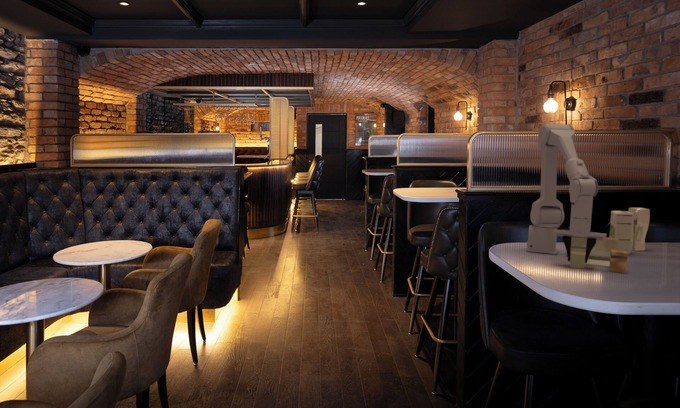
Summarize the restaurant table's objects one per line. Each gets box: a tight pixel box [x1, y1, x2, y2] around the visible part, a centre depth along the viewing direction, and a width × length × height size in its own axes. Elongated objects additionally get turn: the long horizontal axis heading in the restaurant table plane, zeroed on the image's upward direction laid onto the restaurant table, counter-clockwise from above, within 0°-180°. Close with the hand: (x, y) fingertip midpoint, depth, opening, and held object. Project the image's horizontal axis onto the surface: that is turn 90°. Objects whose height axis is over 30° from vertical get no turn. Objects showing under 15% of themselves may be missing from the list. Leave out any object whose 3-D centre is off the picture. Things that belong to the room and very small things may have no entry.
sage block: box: [569, 246, 586, 270], centre depth 155 cm, size 4×4×6 cm
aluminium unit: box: [565, 235, 619, 261], centre depth 167 cm, size 16×5×7 cm, turn 66°
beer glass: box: [628, 207, 651, 252], centre depth 182 cm, size 7×7×15 cm
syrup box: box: [608, 210, 633, 255], centre depth 177 cm, size 6×6×14 cm
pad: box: [585, 259, 610, 268], centre depth 159 cm, size 10×7×1 cm
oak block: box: [608, 250, 629, 274], centre depth 150 cm, size 4×4×6 cm
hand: (577, 261), depth 155 cm, fingers closed on sage block, 4 cm apart
